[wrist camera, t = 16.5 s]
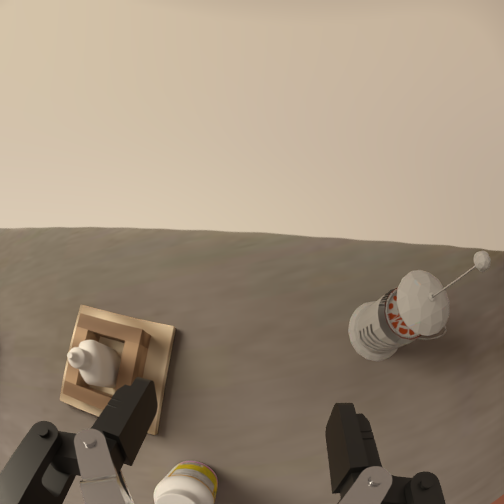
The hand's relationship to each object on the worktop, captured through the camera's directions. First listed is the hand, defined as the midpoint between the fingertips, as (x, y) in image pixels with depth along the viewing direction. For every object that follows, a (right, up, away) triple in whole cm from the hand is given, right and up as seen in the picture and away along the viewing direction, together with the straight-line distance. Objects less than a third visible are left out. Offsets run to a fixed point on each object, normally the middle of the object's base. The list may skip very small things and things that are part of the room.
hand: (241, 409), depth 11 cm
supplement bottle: (-7, -24, +18) cm, 31 cm away
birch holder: (-19, -10, +25) cm, 33 cm away
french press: (+21, -6, +29) cm, 36 cm away
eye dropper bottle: (-19, -10, +24) cm, 32 cm away
